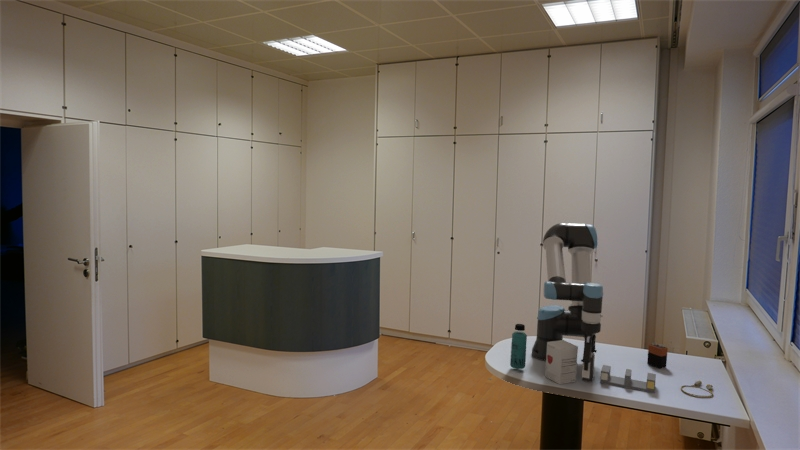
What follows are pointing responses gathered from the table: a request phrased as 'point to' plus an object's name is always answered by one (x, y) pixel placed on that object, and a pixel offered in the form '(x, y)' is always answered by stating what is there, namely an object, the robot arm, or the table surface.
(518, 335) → the beverage bottle
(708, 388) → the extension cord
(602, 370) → the grey three-post rail
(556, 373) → the supplement box
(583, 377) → the plug
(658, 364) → the battery
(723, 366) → the table surface
